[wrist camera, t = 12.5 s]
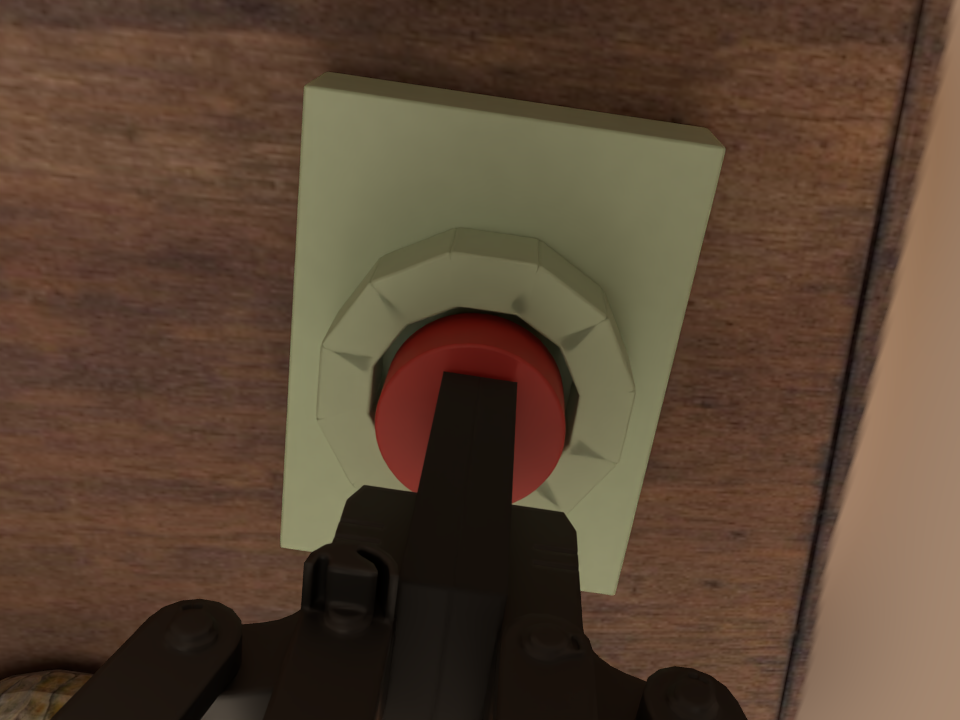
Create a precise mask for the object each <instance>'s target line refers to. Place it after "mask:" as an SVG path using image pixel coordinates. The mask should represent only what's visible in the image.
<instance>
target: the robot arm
mask: <svg viewBox="0 0 960 720" xmlns="http://www.w3.org/2000/svg"><path fill="white" fill-rule="evenodd" d="M516 403H517V382H512V381H506V380H499V379H492V378H485V377H478V376H472V375H465V374H458V373H451V372H445V371H443V376H442V381H441V385H440V390H439V394H438V399H437V404H436V408H435V413H434V418H433V422H432V427H431V431H430V436H429V441H428V445H427V450H426V454H425V459H424V464H423V468H422V473H421V477H420V482H419V487H418V491H417V492H410V491H403V490H396V489H390V488H383V487H376V486H369V485H363V486H362V487H361V488H360V489H358V490H357V491H356V492H355V493H354V494H353V495H351V496H350V497H349V498H348V499H347V500H346V503H345V506H344V509H343V512H342V515H341V518H340V522H339V524H338V527H337V530H336V533H335V537H334V538H333V541H332V543H329V544H325V545H323V546H322V547H320V548H318V549H316V550H315V551H313V552H312V553H311V554H310V555H309V557H308V558H307V560H306V561H305V562H304V572H303V587H302V602H301V610H299V611H298V612H296V613H294V614H293V615H290V616H288V617H285V618H282V619H280V620H275V621H269V622H264V623H253V624H241V620H240V618H239V617H238V616H237V615H236V613H235V612H234V611H233V610H232V609H231V608H229V607H227V606H225V605H223V604H221V603H219V602H215V601H209V600H204V599H195V600H183V601H179V602H176V603H174V604H171V605H168V606H165V607H163V608H161V609H160V610H159V611H157V612H156V613H155V614H153V615H152V616H150V617H149V618H148V619H147V620H146V621H145V622H144V623H143V624H142V625H141V626H140V627H139V628H138V629H137V630H136V631H135V633H134V634H133V635H132V636H131V637H130V638H129V639H128V640H127V641H126V642H125V643H124V644H123V645H122V646H121V647H120V648H119V649H118V650H117V651H116V652H115V653H114V654H113V655H112V656H111V657H110V658H109V659H108V660H107V661H106V662H105V663H104V664H103V665H102V666H101V667H100V668H99V669H98V670H97V672H96V673H95V674H94V675H93V676H92V677H91V678H90V679H89V680H88V681H87V682H86V683H85V684H84V685H83V686H82V687H81V688H80V689H79V690H78V691H77V692H76V693H75V694H74V695H73V696H72V697H71V698H70V699H69V700H68V701H67V702H66V703H65V704H64V705H63V706H62V707H61V708H60V709H59V711H58V712H57V713H56V714H55V715H54V716H53V717H52V718H51V719H50V720H747V718H746V716H745V714H744V712H743V711H742V709H741V707H740V705H739V703H738V702H737V700H736V699H735V697H734V696H733V695H732V694H731V692H730V691H729V690H728V689H727V687H726V686H724V685H723V684H721V683H720V682H719V681H717V680H716V679H715V678H713V677H712V676H710V675H708V674H705V673H703V672H700V671H698V670H695V669H693V668H684V667H676V666H674V667H669V668H664V669H659V670H658V671H656V672H655V673H654V674H652V675H651V676H650V677H648V679H647V682H646V681H643V680H641V679H639V678H636V677H634V676H631V675H629V674H626V673H624V672H622V671H620V670H618V669H616V668H614V667H612V666H610V665H609V664H607V663H606V662H605V661H603V660H602V659H601V658H599V657H598V655H597V654H596V653H595V652H594V651H593V650H592V647H591V644H590V641H589V638H588V637H587V636H586V635H585V634H584V631H583V623H582V607H581V592H580V576H579V571H578V570H579V561H578V555H577V554H578V545H577V531H576V530H575V528H574V527H573V525H572V524H571V522H570V521H569V519H568V518H567V516H566V515H565V513H564V512H560V511H553V510H546V509H539V508H533V507H526V506H519V505H512V489H513V467H514V446H515V424H516Z"/></svg>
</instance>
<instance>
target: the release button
mask: <svg viewBox="0 0 960 720" xmlns="http://www.w3.org/2000/svg"><path fill="white" fill-rule="evenodd" d="M443 371H445V372H451V373H458V374H465V375H472V376H478V377H485V378H492V379H499V380H506V381H512V382H517V403H516V424H515V446H514V467H513V489H512V503H515V502H517V501H519V500H521V499H523V498H524V497H526V496H528V495H529V494H531V493H532V492H533V491H535V490H536V489H537V488H538V487H539V486H540V485H541V484H543V483H544V482H545V480H546V479H547V478H548V477H549V476H550V474H551V473H552V471H553V470H554V468H555V467H556V465H557V463H558V461H559V459H560V457H561V454H562V451H563V447H564V443H565V435H566V423H565V407H564V391H563V383H562V377H561V374H560V371H559V368H558V366H557V364H556V362H555V360H554V358H553V356H552V355H551V353H550V352H549V350H548V349H547V348H546V346H545V345H544V344H543V343H542V342H541V341H540V340H539V339H538V338H537V337H536V336H535V335H533V334H532V333H531V332H530V331H528V330H527V329H525V328H524V327H522V326H520V325H518V324H516V323H514V322H512V321H510V320H507V319H504V318H501V317H499V316H494V315H489V314H481V313H462V314H456V315H450V316H446V317H443V318H440V319H437V320H435V321H433V322H430V323H428V324H426V325H425V326H423V327H422V328H420V329H418V330H417V331H416V332H415V333H413V334H412V335H411V336H410V337H409V338H408V339H407V340H406V341H405V342H404V343H403V344H402V345H401V347H400V348H399V350H398V351H397V353H396V354H395V356H394V358H393V360H392V362H391V365H390V368H389V371H388V374H387V377H386V380H385V383H384V386H383V389H382V392H381V395H380V398H379V401H378V404H377V408H376V413H375V434H376V440H377V443H378V447H379V450H380V452H381V455H382V457H383V459H384V461H385V462H386V464H387V466H388V467H389V469H390V470H391V472H392V473H393V474H394V475H395V477H396V478H397V479H398V480H399V481H400V482H401V483H402V484H403V485H404V486H405V487H407V488H408V489H409V490H410V491H412V492H417V491H418V487H419V482H420V477H421V473H422V468H423V464H424V459H425V454H426V450H427V445H428V441H429V436H430V431H431V427H432V422H433V418H434V413H435V408H436V404H437V399H438V394H439V390H440V385H441V381H442V376H443Z"/></svg>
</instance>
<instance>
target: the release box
mask: <svg viewBox="0 0 960 720" xmlns="http://www.w3.org/2000/svg"><path fill="white" fill-rule="evenodd" d="M725 151H726V150H725V147H724V146H723V145H722V143H721V142H720V141H719V140H718V139H717V138H716V137H715V136H714V135H713V134H712V133H711V131H710V130H709V129H707V128H704V127H697V126H690V125H684V124H677V123H670V122H663V121H657V120H650V119H643V118H636V117H630V116H623V115H616V114H610V113H603V112H596V111H589V110H583V109H576V108H569V107H562V106H556V105H549V104H542V103H536V102H529V101H522V100H515V99H509V98H502V97H495V96H488V95H482V94H475V93H468V92H461V91H455V90H448V89H441V88H435V87H428V86H421V85H414V84H408V83H401V82H394V81H387V80H381V79H374V78H367V77H360V76H354V75H347V74H340V73H334V72H325V73H323V74H322V75H320V76H319V77H317V78H316V79H314V80H313V81H311V82H309V83H308V84H306V85H305V87H304V96H303V115H302V135H301V154H300V173H299V192H298V211H297V230H296V249H295V268H294V287H293V307H292V326H291V345H290V364H289V383H288V402H287V421H286V440H285V459H284V479H283V498H282V517H281V536H280V546H281V547H282V548H289V549H296V550H303V551H310V552H313V551H315V550H316V549H318V548H320V547H322V546H323V545H325V544H329V543H332V541H333V538H334V537H335V533H336V530H337V527H338V524H339V522H340V518H341V515H342V512H343V509H344V506H345V503H346V500H347V499H348V498H349V497H350V496H351V495H353V494H354V493H355V492H356V491H357V490H358V489H360V488H361V487H362V486H363V485H369V486H376V487H383V488H390V489H396V490H403V491H410V490H409V489H408V488H407V487H405V486H404V485H403V484H402V483H401V482H400V481H399V480H398V479H397V478H396V477H395V475H394V474H393V473H392V472H391V470H390V469H389V467H388V466H387V464H386V462H385V461H384V459H383V457H382V455H381V452H380V450H379V447H378V443H377V440H376V434H375V413H376V408H377V404H378V401H379V398H380V395H381V392H382V389H383V386H384V383H385V380H386V377H387V374H388V371H389V368H390V365H391V362H392V360H393V358H394V356H395V354H396V353H397V351H398V350H399V348H400V347H401V345H402V344H403V343H404V342H405V341H406V340H407V339H408V338H409V337H410V336H411V335H412V334H413V333H415V332H416V331H417V330H418V329H420V328H422V327H423V326H425V325H426V324H428V323H430V322H433V321H435V320H437V319H440V318H443V317H446V316H450V315H456V314H462V313H481V314H489V315H494V316H499V317H501V318H504V319H507V320H510V321H512V322H514V323H516V324H518V325H520V326H522V327H524V328H525V329H527V330H528V331H530V332H531V333H532V334H533V335H535V336H536V337H537V338H538V339H539V340H540V341H541V342H542V343H543V344H544V345H545V346H546V348H547V349H548V350H549V352H550V353H551V355H552V356H553V358H554V360H555V362H556V364H557V366H558V368H559V371H560V374H561V377H562V383H563V391H564V407H565V423H566V435H565V443H564V447H563V451H562V454H561V457H560V459H559V461H558V463H557V465H556V467H555V468H554V470H553V471H552V473H551V474H550V476H549V477H548V478H547V479H546V480H545V482H544V483H543V484H541V485H540V486H539V487H538V488H537V489H536V490H535V491H533V492H532V493H531V494H529V495H528V496H526V497H524V498H523V499H521V500H519V501H517V502H515V503H512V505H519V506H526V507H533V508H539V509H546V510H553V511H560V512H564V513H565V515H566V516H567V518H568V519H569V521H570V522H571V524H572V525H573V527H574V528H575V530H576V531H577V545H578V554H577V555H578V561H579V570H578V571H579V576H580V591H586V592H593V593H600V594H607V595H614V594H615V592H616V588H617V584H618V580H619V576H620V572H621V568H622V564H623V560H624V556H625V552H626V548H627V544H628V540H629V536H630V532H631V528H632V524H633V520H634V516H635V512H636V508H637V504H638V500H639V496H640V492H641V488H642V484H643V480H644V476H645V472H646V468H647V464H648V460H649V456H650V452H651V448H652V444H653V440H654V436H655V432H656V428H657V424H658V420H659V416H660V412H661V408H662V404H663V400H664V396H665V392H666V388H667V384H668V380H669V376H670V372H671V368H672V364H673V360H674V356H675V352H676V348H677V344H678V340H679V336H680V332H681V328H682V324H683V320H684V316H685V311H686V307H687V303H688V299H689V295H690V291H691V287H692V283H693V279H694V275H695V271H696V267H697V263H698V259H699V255H700V251H701V247H702V243H703V239H704V235H705V231H706V227H707V223H708V219H709V215H710V211H711V207H712V203H713V199H714V195H715V191H716V187H717V183H718V179H719V175H720V171H721V167H722V163H723V159H724V155H725ZM410 492H412V491H410Z"/></svg>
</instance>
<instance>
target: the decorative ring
mask: <svg viewBox="0 0 960 720" xmlns="http://www.w3.org/2000/svg"><path fill="white" fill-rule="evenodd" d="M93 675H94V674H89V673H82V672H75V671H68V670H60V669H54V670H47V671H40V672H33V673H26V674H19V675H12V676H10V677H8V678H5V679H3V680H1V681H0V720H50V719H51V718H52V717H53V716H54V715H55V714H56V713H57V712H58V711H59V709H60V708H61V707H62V706H63V705H64V704H65V703H66V702H67V701H68V700H69V699H70V698H71V697H72V696H73V695H74V694H75V693H76V692H77V691H78V690H79V689H80V688H81V687H82V686H83V685H84V684H85V683H86V682H87V681H88V680H89V679H90V678H91V677H92V676H93Z"/></svg>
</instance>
